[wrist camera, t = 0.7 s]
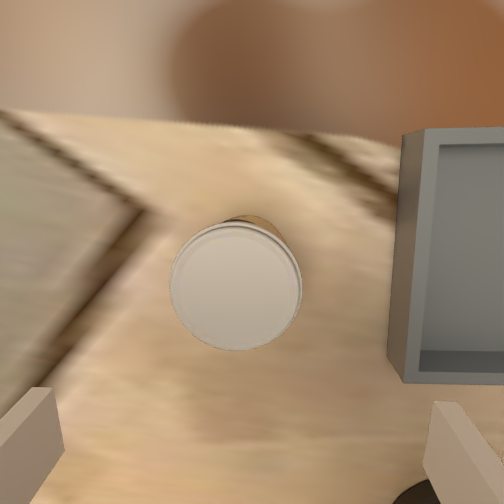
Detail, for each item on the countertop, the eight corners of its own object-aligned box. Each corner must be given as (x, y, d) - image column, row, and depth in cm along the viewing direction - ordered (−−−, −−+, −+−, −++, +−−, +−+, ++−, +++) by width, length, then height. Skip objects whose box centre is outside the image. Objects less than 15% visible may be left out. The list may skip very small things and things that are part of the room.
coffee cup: (247, 186, 34) (232, 193, 23) (313, 254, 35) (332, 294, 24) (182, 252, 36) (138, 290, 24) (247, 314, 37) (234, 380, 25)
